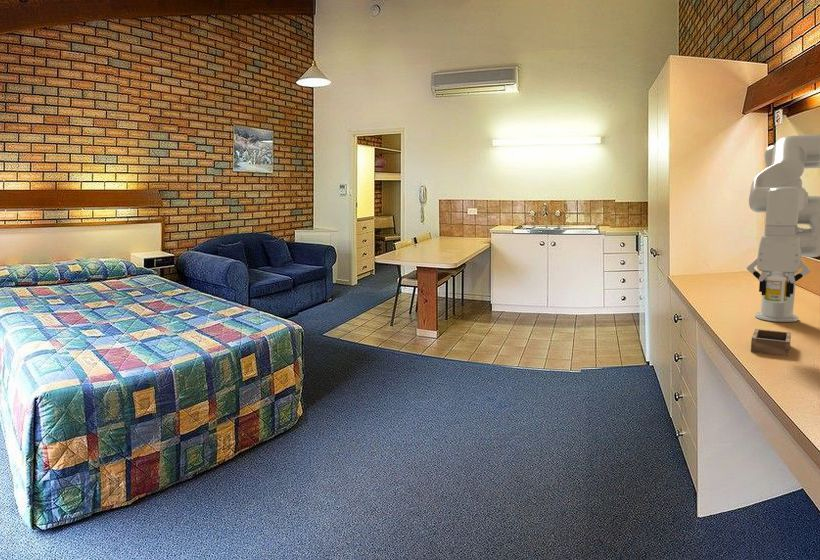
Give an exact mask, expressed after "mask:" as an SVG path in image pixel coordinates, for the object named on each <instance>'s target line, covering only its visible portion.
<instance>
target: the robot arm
mask: <svg viewBox="0 0 820 560" xmlns="http://www.w3.org/2000/svg"><path fill="white" fill-rule="evenodd" d="M764 163H765V167H766V168H765V169H763V170H762V171H761V172H759V173H758V174H756V176H755V177H754V179H753V181H752V182H751V186H750V191H749V196H748V197H749V198H748V204H749V205H748V206H749V208H750V209H751V211H753V212H755V213H765V222H764V235H762V236H761V238H760V241H759V244H758V250H757V258H756V259H755V260H754V261H753V262H751V263H750V264H749V265H748V266H747V267H746V270H747V271H748V272H750V273H751V274H752V276H754V277H755V278H756V279H757V280H758V282H759V284H758V285H759V287H758V289H759V290H758V292H760V293H761V303H760V304H761V305H760V311H757V312H755V315H754V316H755V318H757V319H759V320H763V321H767V322H775V323H776V322H777V323H794V322H798V320H799V316H798V315H796V314H794V305H795V295H796V282H797V281H799V280H800V279H802V278H803V277H805V276H807V275H808V274H810V273H811V270H810V268H809V267H808V266H807V264H805V263H804V262H803V261H802V260H801V259H802V257H803V258H816V257H820V195H809V193H808V192H807V190H806V189H805V188H804V187H803V181H802V178H801V177H802V175H803V174H804V172H805V169H819V168H820V133H819V134H818V133H817V134H816V133H814V134H802V135H801V134H800V135H788V136H784V137H782V138H780V139H778V140H777V141H776V142H775V143H774V144H773V145H769V146H768V147H766V150H765V152H764ZM799 225H807V226H809V228H803V227H799ZM755 267H756V269H757V270H758V271H757V270H756V269H755ZM800 269H801V270H802V271H800V272H799V270H800ZM774 271H779V272H783V273H785V276H787V277H788V288H787V301H786V303H770V302H766V301H764V295H765V281H766V276H767V275H770V273H769V272H774ZM760 272H761V273H760ZM798 272H799V273H798Z"/></svg>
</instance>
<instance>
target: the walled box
mask: <svg viewBox="0 0 820 560" xmlns="http://www.w3.org/2000/svg"><path fill="white" fill-rule="evenodd" d="M791 339H792V332H789V331H780V330H771V329H770V330H769V329H761V328H755V329H754V331H753V333H752V335H751V341H750V344H751V345H750V353H751V352H752V353H759V354H767V355H775V356H785V357H789V356H790V350H791V349H790V348H791Z"/></svg>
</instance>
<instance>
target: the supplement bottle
mask: <svg viewBox="0 0 820 560" xmlns="http://www.w3.org/2000/svg"><path fill="white" fill-rule="evenodd" d="M769 273H770V275H767V276H766V281H765V295H764V301H766V302H770V303H786V301H787V288H788V277H787V276H785V273H783V272H779V271H774V272H769Z"/></svg>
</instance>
